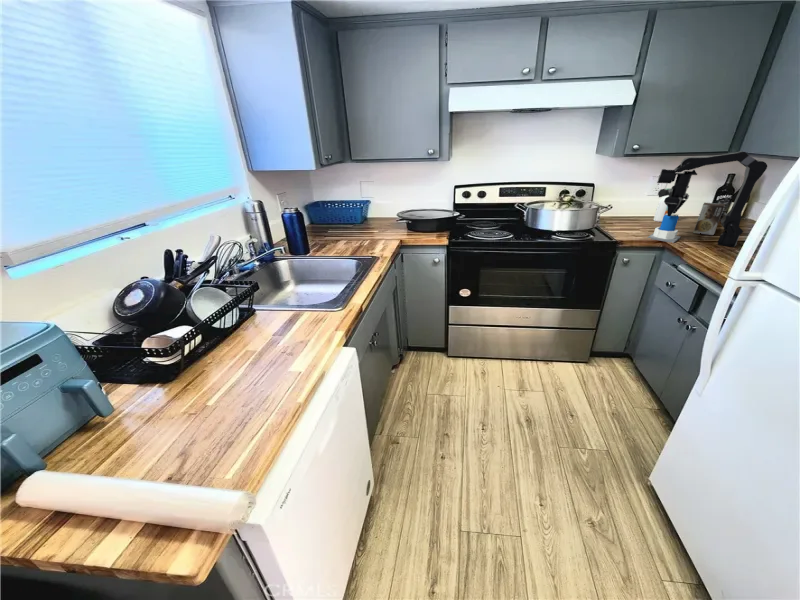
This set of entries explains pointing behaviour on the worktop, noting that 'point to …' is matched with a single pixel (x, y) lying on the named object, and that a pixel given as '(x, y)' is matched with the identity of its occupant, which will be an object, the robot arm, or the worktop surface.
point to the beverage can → (669, 222)
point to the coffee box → (709, 218)
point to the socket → (665, 235)
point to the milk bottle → (661, 209)
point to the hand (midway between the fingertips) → (671, 214)
